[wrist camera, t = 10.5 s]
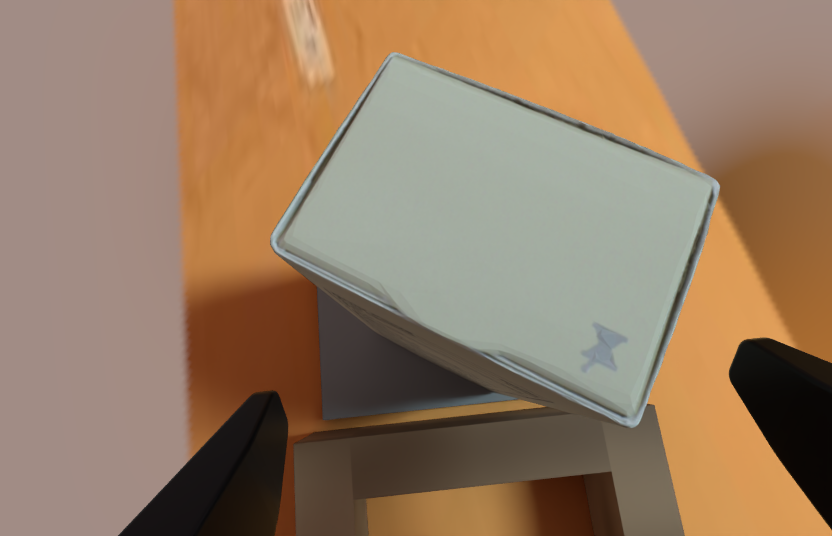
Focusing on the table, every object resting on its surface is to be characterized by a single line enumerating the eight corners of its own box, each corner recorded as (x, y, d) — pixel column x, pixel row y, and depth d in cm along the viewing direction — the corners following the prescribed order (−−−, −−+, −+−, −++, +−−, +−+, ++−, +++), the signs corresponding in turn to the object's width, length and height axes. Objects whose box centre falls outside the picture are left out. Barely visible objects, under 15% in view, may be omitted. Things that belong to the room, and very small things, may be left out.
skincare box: (537, 305, 18) (753, 182, 6) (497, 397, 17) (664, 451, 5) (408, 243, 19) (388, 31, 7) (363, 328, 18) (255, 244, 6)
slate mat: (602, 389, 18) (606, 389, 17) (325, 418, 18) (323, 420, 17) (566, 216, 20) (570, 213, 19) (317, 241, 20) (314, 238, 19)
